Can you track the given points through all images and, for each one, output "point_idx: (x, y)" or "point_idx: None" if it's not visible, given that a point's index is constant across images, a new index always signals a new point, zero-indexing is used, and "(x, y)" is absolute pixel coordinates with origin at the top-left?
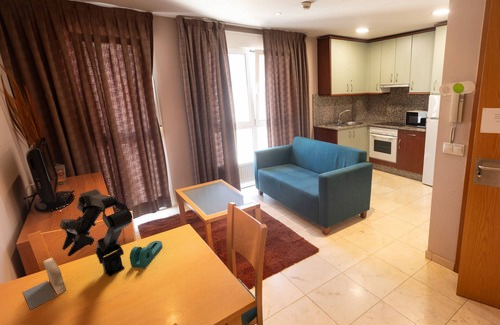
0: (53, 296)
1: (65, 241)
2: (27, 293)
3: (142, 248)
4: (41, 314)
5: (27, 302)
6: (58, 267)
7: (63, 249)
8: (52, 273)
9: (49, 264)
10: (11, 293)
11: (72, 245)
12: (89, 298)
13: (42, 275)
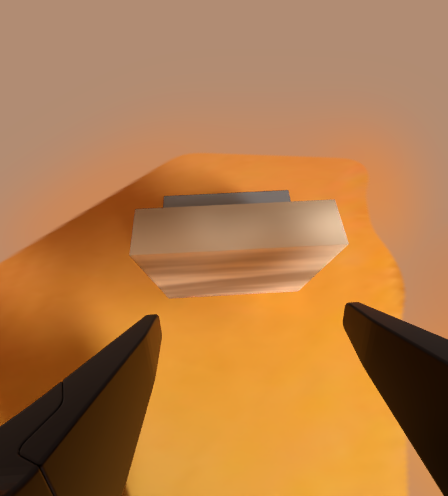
0: None
1: (434, 353)
2: (266, 198)
3: None
4: (111, 216)
5: (212, 194)
6: (164, 252)
7: (344, 313)
8: (135, 218)
9: (257, 219)
10: (309, 169)
11: (58, 417)
12: (16, 359)
13: (360, 248)
